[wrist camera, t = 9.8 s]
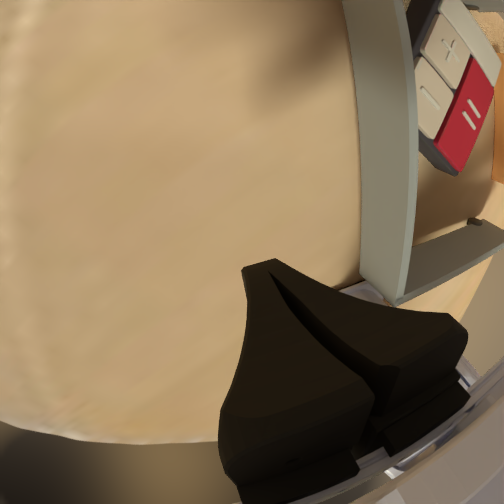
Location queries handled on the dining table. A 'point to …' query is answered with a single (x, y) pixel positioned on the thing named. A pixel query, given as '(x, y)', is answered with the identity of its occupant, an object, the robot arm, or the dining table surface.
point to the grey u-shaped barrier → (400, 160)
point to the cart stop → (499, 125)
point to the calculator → (450, 80)
